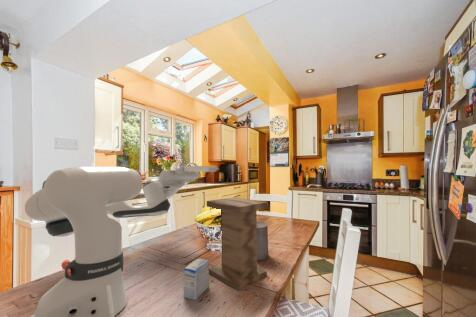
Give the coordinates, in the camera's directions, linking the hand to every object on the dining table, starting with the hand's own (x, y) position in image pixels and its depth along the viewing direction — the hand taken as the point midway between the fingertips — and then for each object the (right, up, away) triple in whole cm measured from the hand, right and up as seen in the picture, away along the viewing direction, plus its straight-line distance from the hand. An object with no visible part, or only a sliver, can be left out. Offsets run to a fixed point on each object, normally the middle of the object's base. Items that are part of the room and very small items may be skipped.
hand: (187, 167), depth 108 cm
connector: (+7, -1, -7) cm, 10 cm away
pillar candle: (+33, -38, -11) cm, 51 cm away
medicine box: (+12, -37, -39) cm, 55 cm away
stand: (+24, -37, -27) cm, 52 cm away
